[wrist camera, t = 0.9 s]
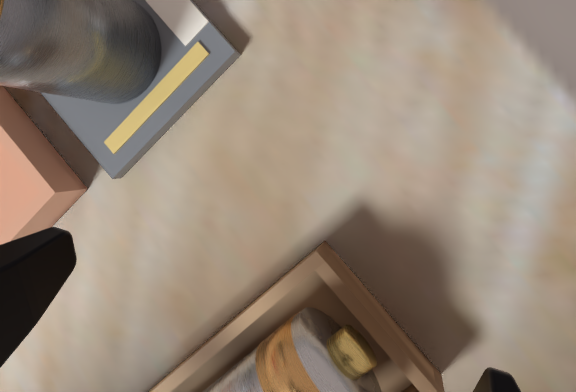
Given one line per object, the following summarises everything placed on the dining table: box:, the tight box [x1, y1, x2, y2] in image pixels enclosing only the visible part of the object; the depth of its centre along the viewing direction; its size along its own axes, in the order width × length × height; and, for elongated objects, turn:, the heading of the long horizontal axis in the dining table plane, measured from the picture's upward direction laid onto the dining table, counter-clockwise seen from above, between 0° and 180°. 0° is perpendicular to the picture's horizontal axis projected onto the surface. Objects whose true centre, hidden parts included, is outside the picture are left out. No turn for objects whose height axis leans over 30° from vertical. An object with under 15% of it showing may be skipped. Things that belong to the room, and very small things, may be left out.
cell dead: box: [0, 0, 161, 104], centre depth 17 cm, size 5×5×13 cm
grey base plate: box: [40, 0, 241, 179], centre depth 24 cm, size 9×9×1 cm
